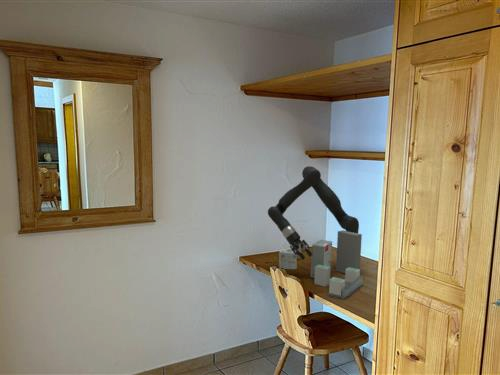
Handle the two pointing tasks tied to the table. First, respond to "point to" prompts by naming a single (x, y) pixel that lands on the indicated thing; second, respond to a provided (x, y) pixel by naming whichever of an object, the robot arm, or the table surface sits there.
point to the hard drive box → (321, 255)
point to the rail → (349, 288)
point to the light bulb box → (287, 259)
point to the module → (322, 275)
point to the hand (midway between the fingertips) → (307, 257)
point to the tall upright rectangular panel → (348, 250)
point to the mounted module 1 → (336, 286)
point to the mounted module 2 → (352, 274)
